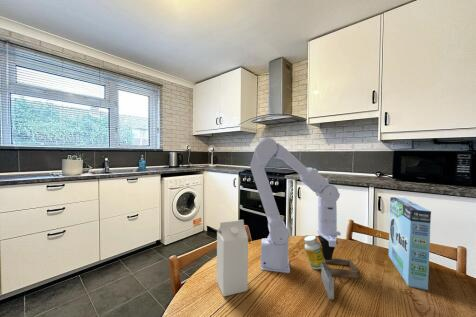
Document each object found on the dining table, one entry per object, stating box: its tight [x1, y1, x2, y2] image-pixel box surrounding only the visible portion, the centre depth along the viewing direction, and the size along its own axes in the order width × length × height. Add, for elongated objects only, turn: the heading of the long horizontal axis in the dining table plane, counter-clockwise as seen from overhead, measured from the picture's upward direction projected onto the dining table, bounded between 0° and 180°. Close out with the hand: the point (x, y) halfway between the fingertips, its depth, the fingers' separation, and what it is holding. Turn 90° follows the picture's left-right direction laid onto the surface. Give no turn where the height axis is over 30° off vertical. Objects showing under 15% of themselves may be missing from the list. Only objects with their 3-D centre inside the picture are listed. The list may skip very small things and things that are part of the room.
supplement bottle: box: [304, 235, 326, 270], centre depth 69 cm, size 5×5×10 cm
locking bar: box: [320, 262, 335, 301], centre depth 57 cm, size 1×10×5 cm, turn 168°
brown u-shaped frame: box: [325, 257, 361, 280], centre depth 67 cm, size 10×8×2 cm
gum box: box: [388, 197, 432, 291], centre depth 66 cm, size 20×5×23 cm, turn 157°
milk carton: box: [216, 219, 249, 297], centre depth 58 cm, size 7×7×19 cm
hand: (327, 258), depth 68 cm, fingers closed, pressing on supplement bottle
